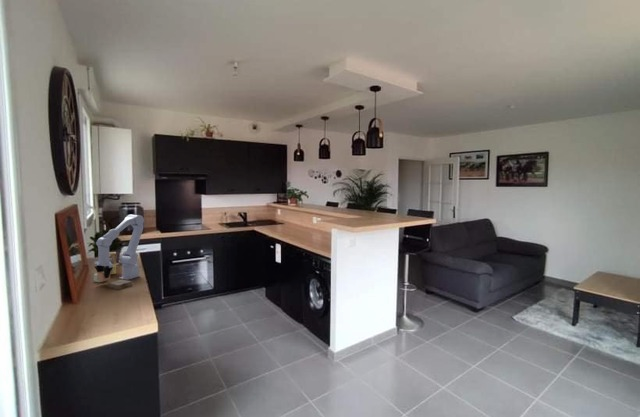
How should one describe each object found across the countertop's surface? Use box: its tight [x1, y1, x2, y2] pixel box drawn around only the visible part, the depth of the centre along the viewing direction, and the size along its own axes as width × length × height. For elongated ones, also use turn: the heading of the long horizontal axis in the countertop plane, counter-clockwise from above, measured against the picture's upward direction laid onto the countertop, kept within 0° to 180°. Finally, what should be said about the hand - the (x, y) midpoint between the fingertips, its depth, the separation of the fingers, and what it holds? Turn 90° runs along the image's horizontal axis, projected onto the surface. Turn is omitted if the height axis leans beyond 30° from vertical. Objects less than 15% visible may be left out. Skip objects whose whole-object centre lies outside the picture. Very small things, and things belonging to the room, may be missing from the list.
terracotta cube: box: [96, 271, 111, 282], centre depth 193 cm, size 5×5×5 cm
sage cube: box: [93, 272, 108, 283], centre depth 200 cm, size 5×5×5 cm
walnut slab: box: [107, 279, 133, 290], centre depth 191 cm, size 9×9×3 cm
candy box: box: [105, 251, 117, 275], centre depth 216 cm, size 9×4×15 cm, turn 129°
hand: (103, 277), depth 193 cm, fingers closed on terracotta cube, 5 cm apart
